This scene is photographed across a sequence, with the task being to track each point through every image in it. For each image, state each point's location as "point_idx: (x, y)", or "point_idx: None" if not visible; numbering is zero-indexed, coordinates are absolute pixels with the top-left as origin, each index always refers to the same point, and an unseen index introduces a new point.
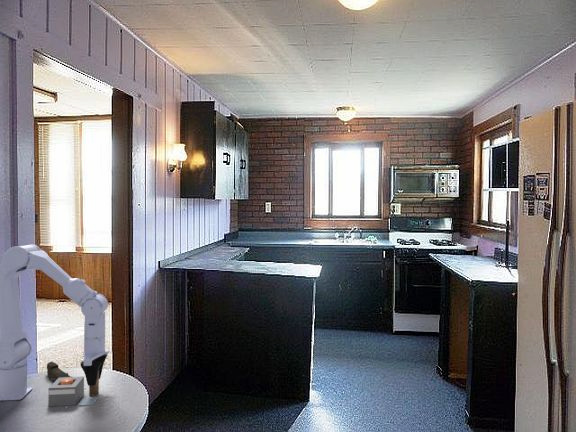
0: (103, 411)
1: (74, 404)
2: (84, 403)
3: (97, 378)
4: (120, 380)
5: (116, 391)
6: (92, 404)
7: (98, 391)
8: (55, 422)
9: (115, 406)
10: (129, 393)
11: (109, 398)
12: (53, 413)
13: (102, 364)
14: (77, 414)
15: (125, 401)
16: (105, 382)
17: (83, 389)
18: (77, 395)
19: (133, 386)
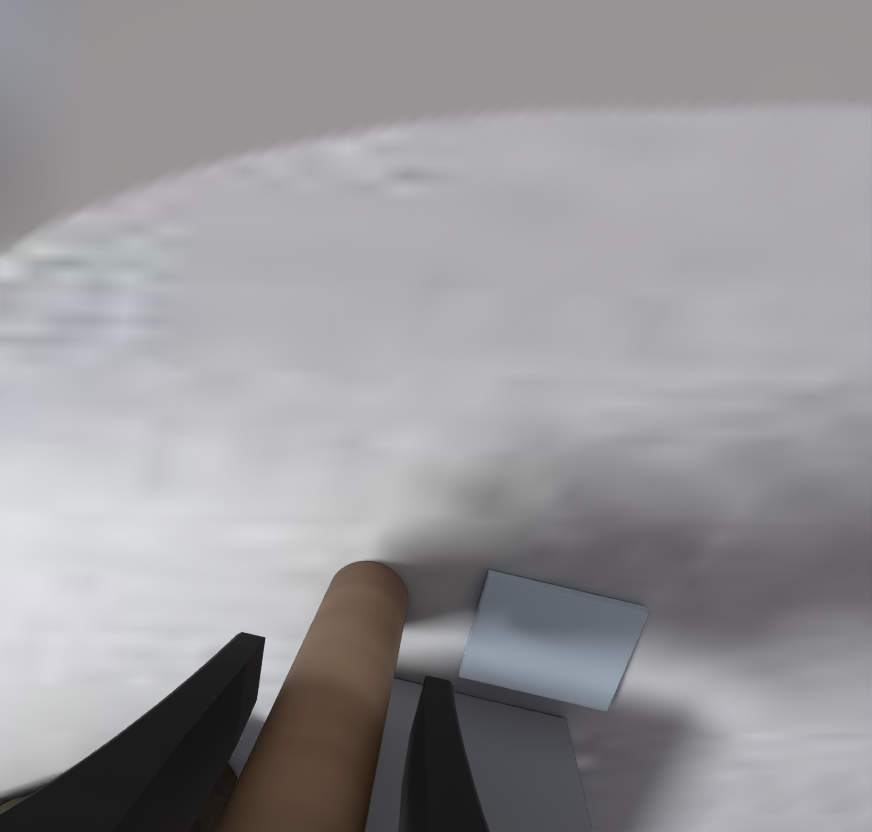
0: (834, 529)
1: (565, 725)
2: (595, 669)
3: (361, 706)
4: (70, 364)
5: (375, 410)
6: (647, 615)
7: (375, 575)
8: (836, 818)
9: (775, 427)
10: (479, 278)
11: (538, 476)
12: (661, 827)
13: (117, 826)
14: (774, 704)
15: (693, 327)
16: (108, 503)
17: None
18: (515, 758)
19: (277, 225)
